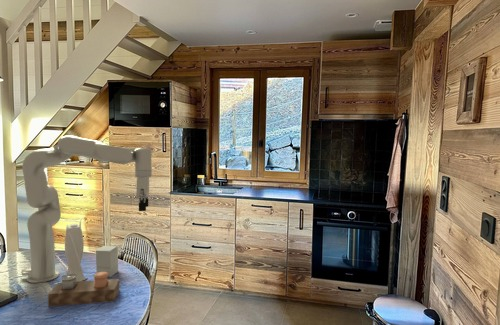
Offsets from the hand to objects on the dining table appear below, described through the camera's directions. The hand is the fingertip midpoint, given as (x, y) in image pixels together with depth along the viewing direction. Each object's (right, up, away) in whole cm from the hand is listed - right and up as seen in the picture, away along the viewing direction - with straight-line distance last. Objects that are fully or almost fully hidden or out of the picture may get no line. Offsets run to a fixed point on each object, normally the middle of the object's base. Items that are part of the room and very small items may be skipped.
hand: (143, 208), depth 158 cm
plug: (-21, -30, -27) cm, 45 cm away
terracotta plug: (-10, -30, -24) cm, 39 cm away
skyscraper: (-28, -32, -10) cm, 43 cm away
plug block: (-15, -33, -25) cm, 44 cm away
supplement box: (-17, -31, -1) cm, 36 cm away
